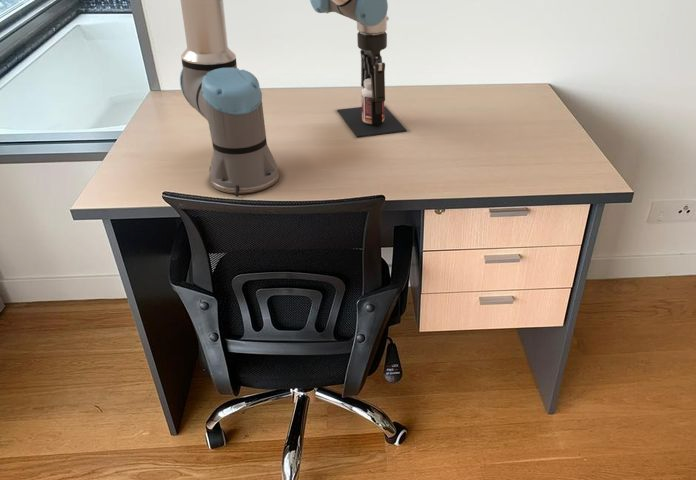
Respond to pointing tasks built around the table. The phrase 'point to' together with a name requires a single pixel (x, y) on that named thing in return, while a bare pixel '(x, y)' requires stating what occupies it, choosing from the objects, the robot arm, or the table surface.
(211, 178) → the robot arm
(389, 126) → the mat
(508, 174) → the table surface
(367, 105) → the pill bottle
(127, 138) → the table surface
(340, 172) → the table surface
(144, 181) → the table surface
